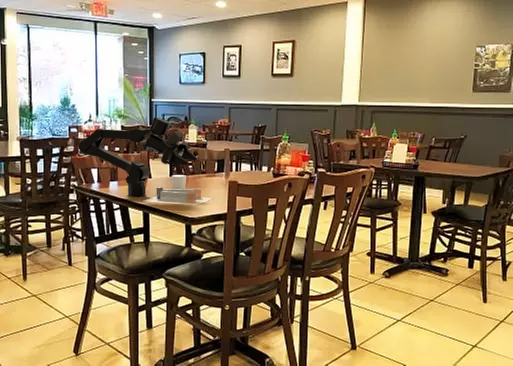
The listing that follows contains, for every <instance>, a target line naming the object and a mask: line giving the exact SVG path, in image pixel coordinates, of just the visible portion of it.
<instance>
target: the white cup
mask: <svg viewBox="0 0 513 366" xmlns="http://www.w3.org/2000/svg"><path fill="white" fill-rule="evenodd" d="M186 182H187V175H186V174H185V175H184V174H174V175H171V185H172V189H186V186H187V185H186V184H187V183H186Z"/></svg>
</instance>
